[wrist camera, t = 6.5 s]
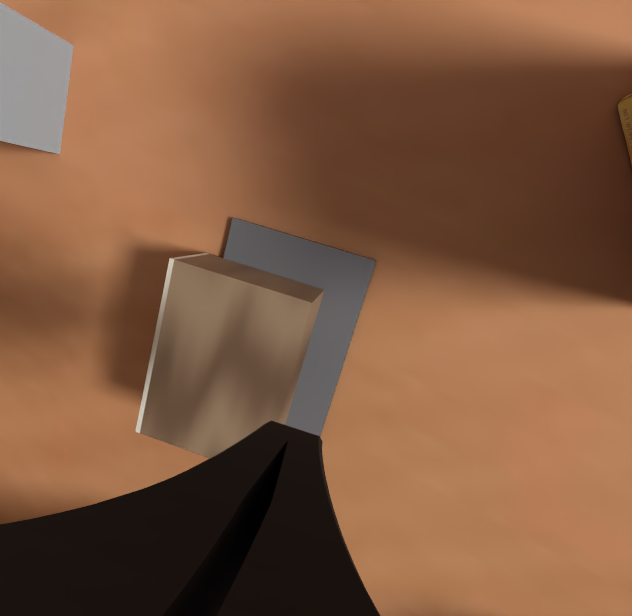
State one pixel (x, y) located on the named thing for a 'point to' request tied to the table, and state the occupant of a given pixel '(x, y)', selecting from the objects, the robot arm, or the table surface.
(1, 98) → the grey block
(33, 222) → the table surface
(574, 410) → the table surface
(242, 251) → the mat
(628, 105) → the candy box
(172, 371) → the walnut block
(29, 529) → the robot arm
